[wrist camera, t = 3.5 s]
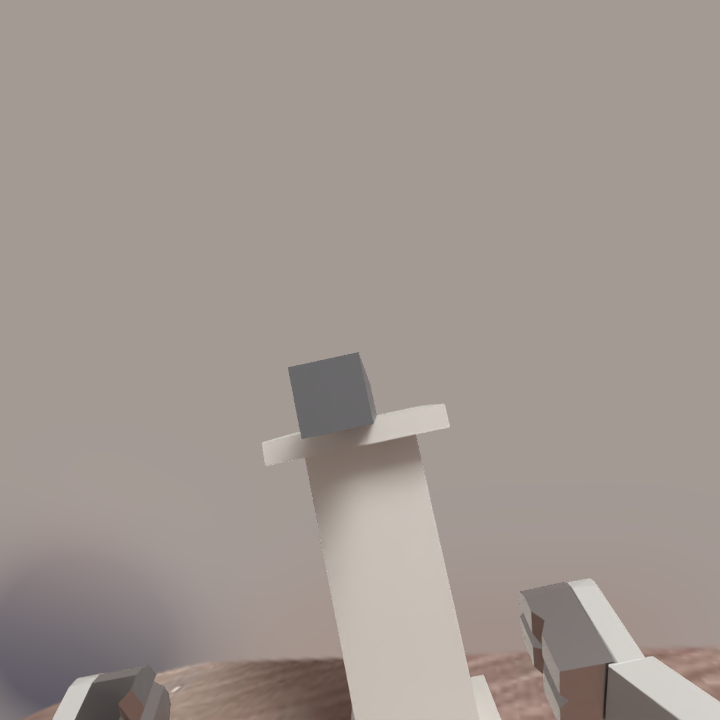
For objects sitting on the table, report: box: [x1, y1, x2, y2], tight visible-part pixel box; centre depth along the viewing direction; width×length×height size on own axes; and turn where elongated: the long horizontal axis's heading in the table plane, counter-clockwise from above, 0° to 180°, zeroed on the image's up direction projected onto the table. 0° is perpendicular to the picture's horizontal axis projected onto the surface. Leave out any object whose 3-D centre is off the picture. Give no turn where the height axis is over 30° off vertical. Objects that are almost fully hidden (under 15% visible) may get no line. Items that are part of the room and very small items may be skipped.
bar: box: [288, 353, 377, 439], centre depth 29 cm, size 3×24×3 cm, turn 178°
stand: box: [262, 404, 501, 720], centre depth 33 cm, size 12×14×26 cm
